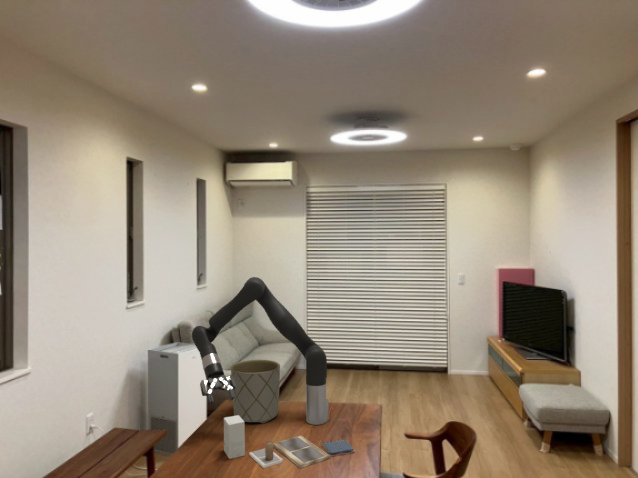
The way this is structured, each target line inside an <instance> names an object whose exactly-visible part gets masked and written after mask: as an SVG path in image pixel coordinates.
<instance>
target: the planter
mask: <svg viewBox="0 0 638 478" xmlns="http://www.w3.org/2000/svg"><path fill="white" fill-rule="evenodd" d="M230 375H232V376H233V378H234V381H235V384H236V388H235V390H233V392H234V395H235V397H234V399H233V400H232V404H233V405H232V406H233V407H232V408H233V416H237V415H239V416H240V417H241V418H242V420H243V421H244V422H246V423H260V424H266V423H268V422H269V421H272V420H273V419H274V418H275V417H277V415H278V413H279V401H280V400H279V399H280V380H281V379H280V378H281V364H280V363H279V362H277V361H274V360H272V359H271V360H269V359H250V360H249V359H248V360H243V361H239V362H236V363H234V364H232V365H231V366H230Z"/></svg>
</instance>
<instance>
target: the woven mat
mask: <svg viewBox="0 0 638 478" xmlns="http://www.w3.org/2000/svg"><path fill="white" fill-rule="evenodd" d="M322 447H323V449H324V450H325V451H326V453H327V454H329V455H330V457H335V456H342V455H347V454H354V453H355V449H354V447H352V445H351V444H350V442H348V440H347V439H337V440H333V441H332V440H330V441H324V442H323V444H322Z"/></svg>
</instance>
